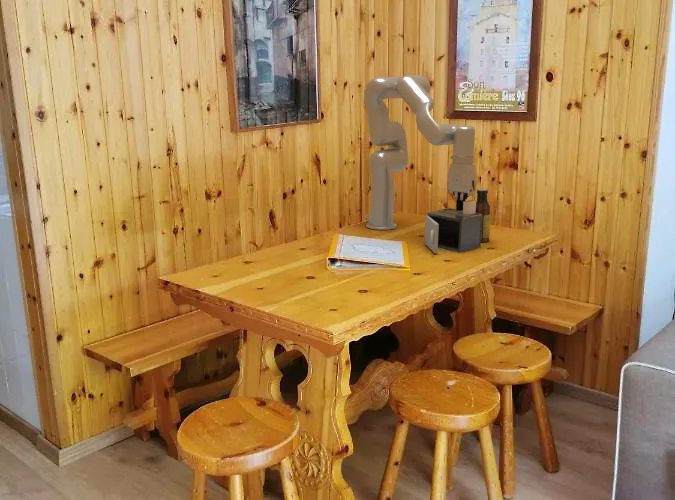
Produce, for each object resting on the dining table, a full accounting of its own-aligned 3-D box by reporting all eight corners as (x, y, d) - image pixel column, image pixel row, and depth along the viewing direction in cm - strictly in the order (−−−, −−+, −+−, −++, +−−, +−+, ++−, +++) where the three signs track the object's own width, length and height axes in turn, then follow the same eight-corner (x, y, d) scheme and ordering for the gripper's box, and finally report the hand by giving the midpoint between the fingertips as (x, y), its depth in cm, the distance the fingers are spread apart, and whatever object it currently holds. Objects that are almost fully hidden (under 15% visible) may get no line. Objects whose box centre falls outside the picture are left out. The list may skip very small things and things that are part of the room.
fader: (462, 213, 260) (463, 200, 259) (468, 212, 262) (469, 199, 261) (469, 214, 258) (470, 201, 256) (475, 213, 260) (476, 200, 259)
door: (421, 243, 265) (422, 215, 262) (426, 243, 265) (428, 215, 263) (431, 253, 251) (432, 224, 248) (437, 253, 251) (438, 223, 248)
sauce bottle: (488, 239, 275) (491, 188, 269) (490, 243, 269) (493, 191, 263) (471, 238, 275) (474, 187, 270) (472, 242, 269) (475, 190, 264)
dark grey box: (426, 244, 266) (427, 211, 263) (446, 239, 274) (448, 207, 271) (460, 252, 254) (462, 218, 251) (480, 247, 262) (482, 214, 259)
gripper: (440, 159, 261) (438, 208, 266) (473, 163, 250) (470, 214, 255) (453, 157, 266) (450, 206, 270) (486, 161, 255) (483, 212, 260)
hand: (460, 210), depth 263 cm, fingers closed
